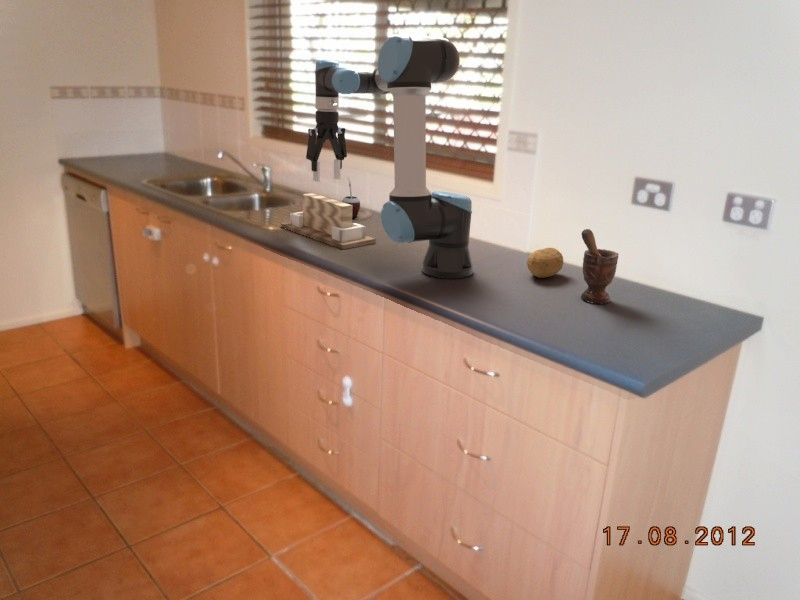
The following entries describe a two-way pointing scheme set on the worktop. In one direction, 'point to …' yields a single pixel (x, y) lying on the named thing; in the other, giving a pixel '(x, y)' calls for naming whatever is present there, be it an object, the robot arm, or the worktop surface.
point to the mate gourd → (352, 202)
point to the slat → (325, 213)
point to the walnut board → (328, 237)
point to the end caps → (334, 229)
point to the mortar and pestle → (597, 269)
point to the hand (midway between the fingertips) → (326, 179)
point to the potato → (545, 262)
